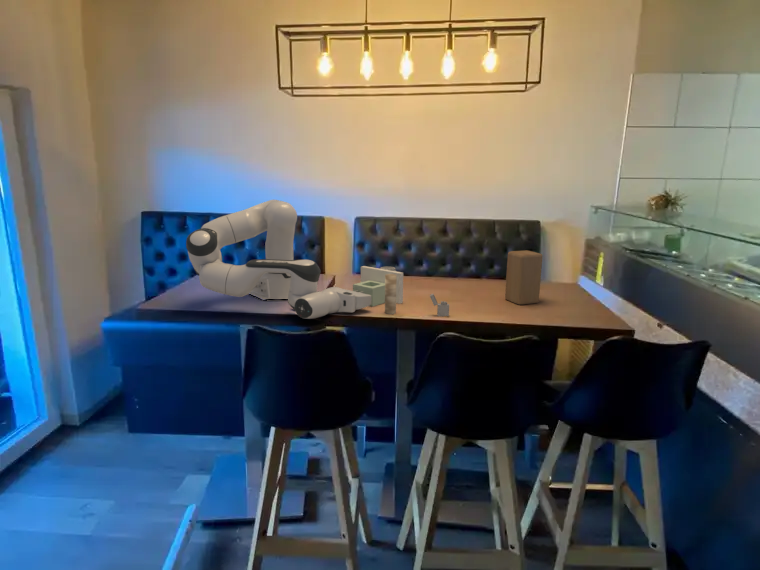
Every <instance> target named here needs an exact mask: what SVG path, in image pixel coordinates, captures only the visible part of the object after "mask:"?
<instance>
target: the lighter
mask: <svg viewBox="0 0 760 570" xmlns="http://www.w3.org/2000/svg"><path fill="white" fill-rule="evenodd" d="M429 298H430V299H431V302H432V304H433V306H434V307H435V306H437V310H436V312H437V314H436V316H437V317H444V316H449V317H450V304H449V303H448V302H447V301H445V300H444V301H440V303H438V300H437V298H436V296H435V294H434V293H431V294H429Z"/></svg>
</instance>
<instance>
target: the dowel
mask: <svg viewBox="0 0 760 570" xmlns="http://www.w3.org/2000/svg"><path fill="white" fill-rule="evenodd" d="M396 277H397V275H395V274H386V275H385V303H384V314H387V315H394V314H396V313H397V303H396Z"/></svg>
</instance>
